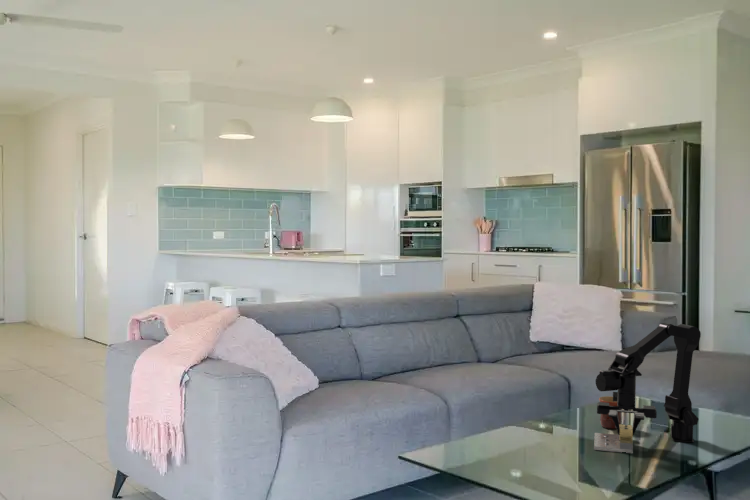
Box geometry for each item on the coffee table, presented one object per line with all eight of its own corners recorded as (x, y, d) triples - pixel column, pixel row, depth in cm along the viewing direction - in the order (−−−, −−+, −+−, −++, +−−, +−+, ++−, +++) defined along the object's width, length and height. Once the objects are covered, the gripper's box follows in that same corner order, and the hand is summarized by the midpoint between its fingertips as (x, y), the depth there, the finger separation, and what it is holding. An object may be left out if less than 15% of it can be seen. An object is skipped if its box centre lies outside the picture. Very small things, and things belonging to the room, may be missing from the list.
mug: (603, 422, 275) (603, 395, 274) (626, 426, 269) (627, 398, 269) (591, 429, 265) (591, 401, 265) (615, 434, 260) (616, 405, 259)
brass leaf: (631, 436, 249) (631, 424, 249) (632, 442, 243) (632, 429, 243) (619, 435, 250) (619, 423, 250) (619, 441, 244) (619, 428, 244)
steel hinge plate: (630, 439, 254) (631, 430, 254) (632, 453, 239) (632, 443, 238) (594, 436, 257) (594, 427, 257) (594, 449, 242) (594, 440, 242)
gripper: (654, 385, 251) (653, 431, 252) (597, 382, 256) (596, 426, 257) (657, 393, 240) (656, 440, 241) (597, 389, 246) (596, 435, 246)
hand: (625, 435), depth 247 cm, fingers closed on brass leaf, 4 cm apart
